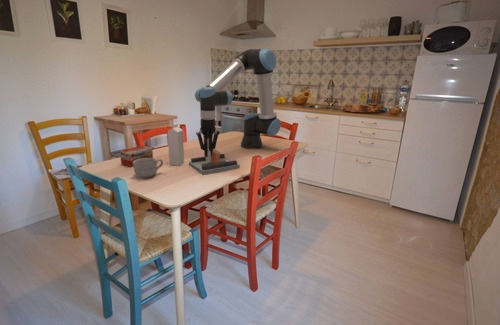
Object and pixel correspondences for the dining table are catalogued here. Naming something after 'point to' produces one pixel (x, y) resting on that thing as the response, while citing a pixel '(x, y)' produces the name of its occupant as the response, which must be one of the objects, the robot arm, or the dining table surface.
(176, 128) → the milk
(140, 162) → the teacup
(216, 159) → the orange rectangular block
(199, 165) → the panel
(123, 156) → the medicine box
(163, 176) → the dining table surface
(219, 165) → the set of dark strips
